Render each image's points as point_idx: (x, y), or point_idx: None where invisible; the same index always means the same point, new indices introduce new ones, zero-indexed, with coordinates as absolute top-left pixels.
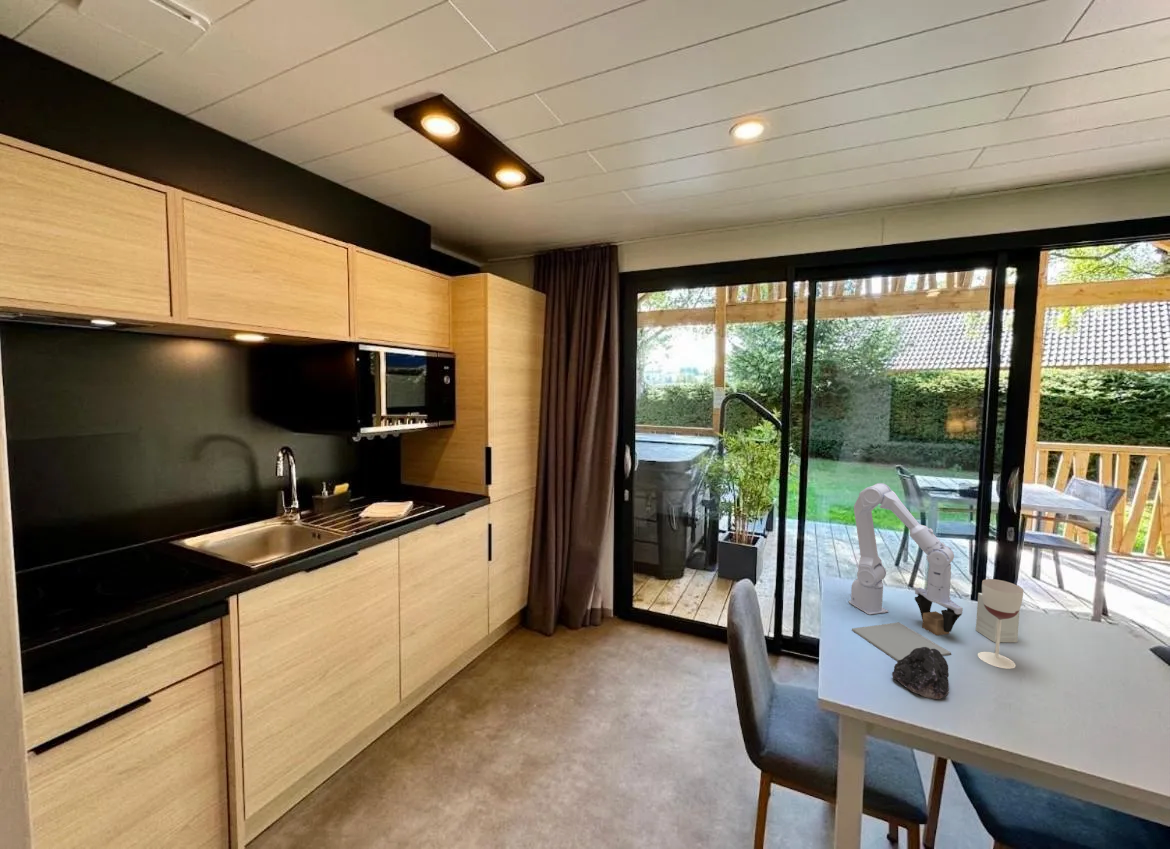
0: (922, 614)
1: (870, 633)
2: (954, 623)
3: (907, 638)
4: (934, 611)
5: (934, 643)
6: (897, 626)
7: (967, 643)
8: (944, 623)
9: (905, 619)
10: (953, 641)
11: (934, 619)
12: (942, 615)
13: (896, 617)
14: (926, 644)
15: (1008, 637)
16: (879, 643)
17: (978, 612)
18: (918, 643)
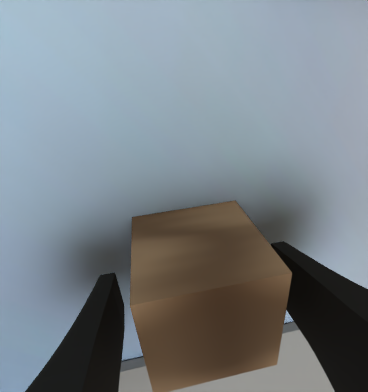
0: (119, 353)
1: None
2: (342, 277)
3: (239, 389)
4: (133, 317)
5: (298, 333)
6: (146, 390)
7: (341, 183)
8: (309, 333)
9: (49, 323)
10: (300, 237)
11: (251, 365)
12: (223, 299)
13: (26, 350)
14: (292, 357)
15: None
16: None
17: None
18: (277, 373)
